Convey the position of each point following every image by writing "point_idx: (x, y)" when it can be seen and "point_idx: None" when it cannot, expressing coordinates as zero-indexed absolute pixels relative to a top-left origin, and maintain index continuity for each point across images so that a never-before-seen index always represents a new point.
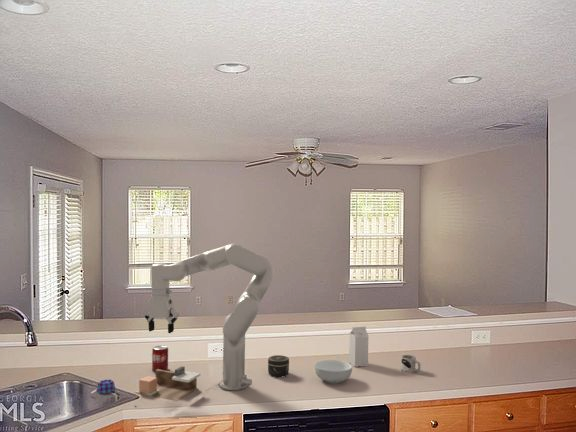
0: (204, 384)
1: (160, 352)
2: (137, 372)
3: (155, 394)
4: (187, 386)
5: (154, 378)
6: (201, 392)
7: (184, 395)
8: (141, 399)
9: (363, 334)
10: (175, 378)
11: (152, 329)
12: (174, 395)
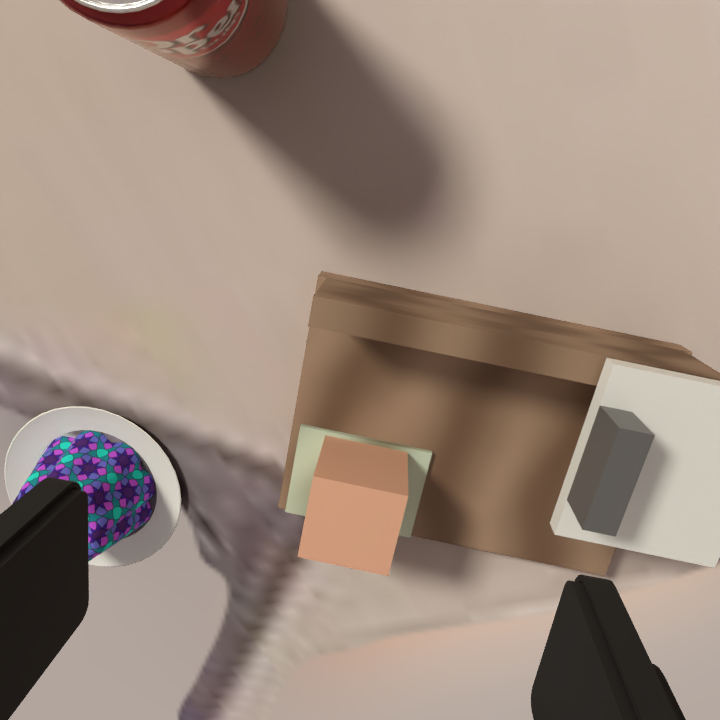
0: (703, 187)
1: (181, 19)
2: (30, 48)
3: (430, 512)
4: None
5: (397, 514)
6: (713, 352)
7: None
8: None
9: None
10: (588, 540)
11: (76, 565)
12: None
